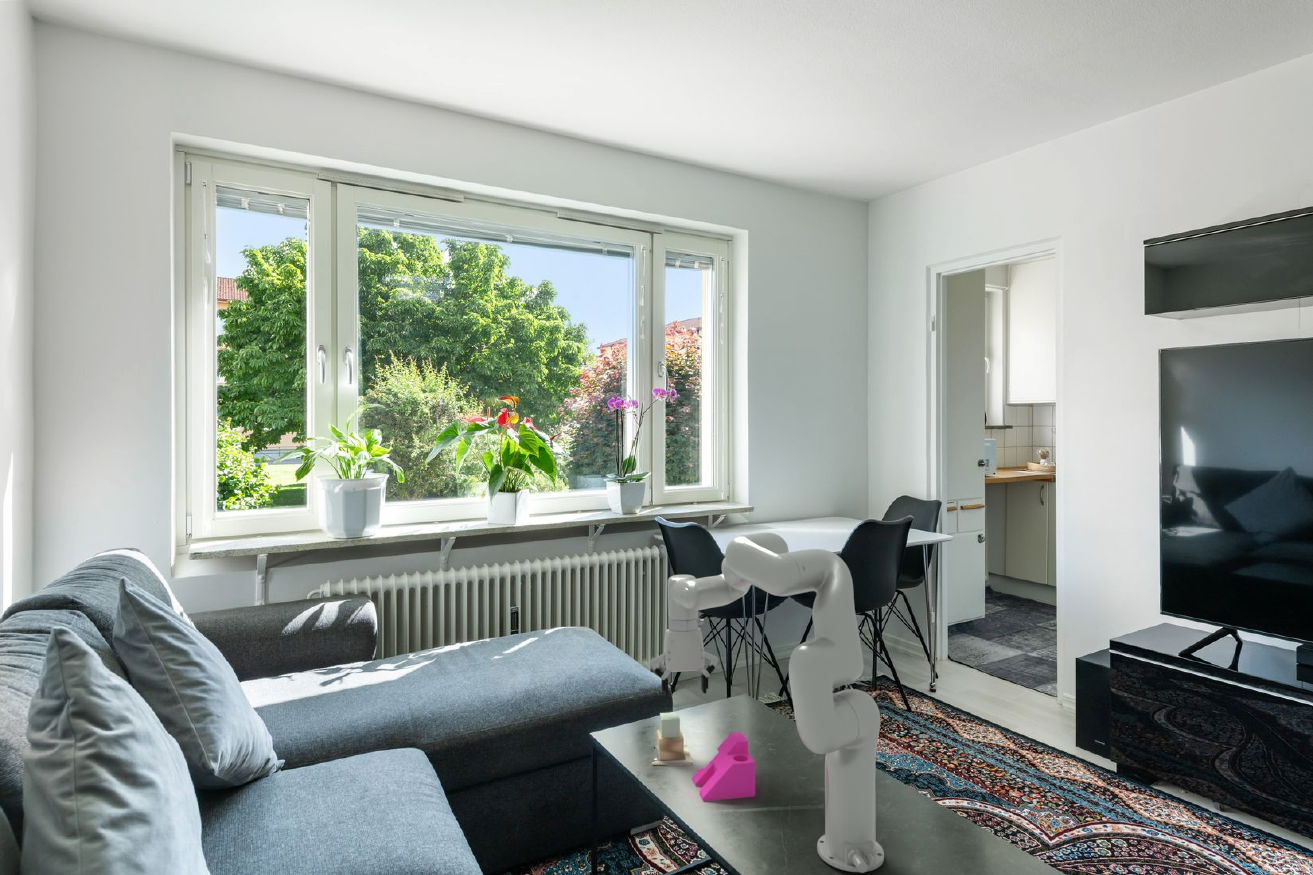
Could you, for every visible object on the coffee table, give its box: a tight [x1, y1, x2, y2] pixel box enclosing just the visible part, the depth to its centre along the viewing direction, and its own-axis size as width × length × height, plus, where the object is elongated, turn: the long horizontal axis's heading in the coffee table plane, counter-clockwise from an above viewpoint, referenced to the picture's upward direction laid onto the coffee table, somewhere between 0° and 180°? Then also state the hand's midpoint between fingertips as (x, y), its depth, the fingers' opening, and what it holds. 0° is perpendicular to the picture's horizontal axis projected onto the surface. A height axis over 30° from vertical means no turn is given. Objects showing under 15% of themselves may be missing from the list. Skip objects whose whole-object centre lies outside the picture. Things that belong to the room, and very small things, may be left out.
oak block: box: [656, 728, 685, 760], centre depth 180 cm, size 6×6×5 cm
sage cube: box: [659, 711, 681, 738], centre depth 180 cm, size 4×4×4 cm
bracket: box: [691, 732, 756, 802], centre depth 165 cm, size 12×10×10 cm
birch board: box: [651, 744, 694, 766], centre depth 180 cm, size 10×10×1 cm
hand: (685, 692), depth 181 cm, fingers open, 9 cm apart
